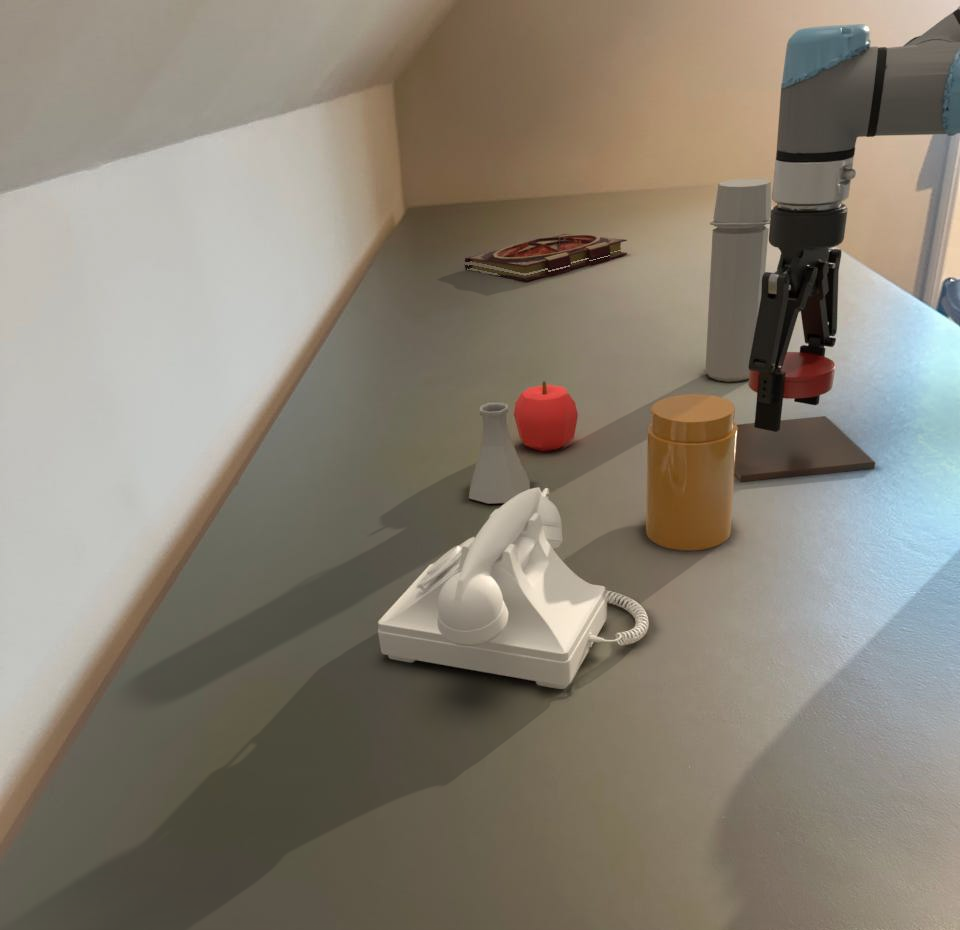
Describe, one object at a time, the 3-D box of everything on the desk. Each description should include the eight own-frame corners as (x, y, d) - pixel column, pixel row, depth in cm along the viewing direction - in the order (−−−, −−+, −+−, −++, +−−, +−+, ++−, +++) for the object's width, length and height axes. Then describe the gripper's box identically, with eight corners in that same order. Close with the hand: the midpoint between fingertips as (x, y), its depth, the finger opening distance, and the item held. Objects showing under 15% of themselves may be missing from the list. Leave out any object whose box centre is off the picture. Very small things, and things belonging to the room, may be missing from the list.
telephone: (473, 548, 99) (463, 431, 92) (677, 574, 91) (681, 449, 84) (355, 686, 80) (331, 551, 73) (599, 733, 72) (598, 588, 65)
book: (563, 248, 222) (562, 225, 220) (629, 256, 207) (629, 231, 205) (465, 273, 208) (463, 248, 206) (529, 283, 194) (527, 257, 191)
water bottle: (756, 384, 133) (773, 186, 120) (698, 382, 136) (708, 188, 122) (763, 364, 141) (778, 174, 127) (707, 362, 143) (717, 176, 130)
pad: (824, 421, 120) (825, 415, 120) (874, 468, 108) (875, 462, 107) (705, 433, 120) (705, 427, 120) (740, 482, 107) (741, 475, 107)
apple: (538, 462, 116) (535, 397, 112) (502, 443, 122) (498, 381, 118) (591, 445, 120) (590, 381, 115) (554, 427, 125) (551, 366, 121)
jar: (717, 509, 102) (725, 389, 95) (740, 546, 95) (750, 418, 88) (638, 517, 102) (639, 397, 95) (655, 554, 95) (658, 427, 88)
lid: (733, 390, 110) (734, 369, 108) (771, 367, 115) (773, 347, 114) (810, 404, 104) (812, 382, 103) (846, 380, 110) (849, 358, 108)
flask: (520, 508, 106) (514, 420, 100) (458, 503, 108) (450, 417, 103) (539, 481, 112) (535, 397, 106) (481, 477, 114) (474, 394, 108)
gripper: (795, 226, 91) (772, 453, 103) (888, 187, 104) (858, 393, 116) (723, 221, 95) (709, 439, 107) (821, 184, 108) (799, 382, 120)
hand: (787, 415), depth 112 cm, fingers closed on lid, 9 cm apart
